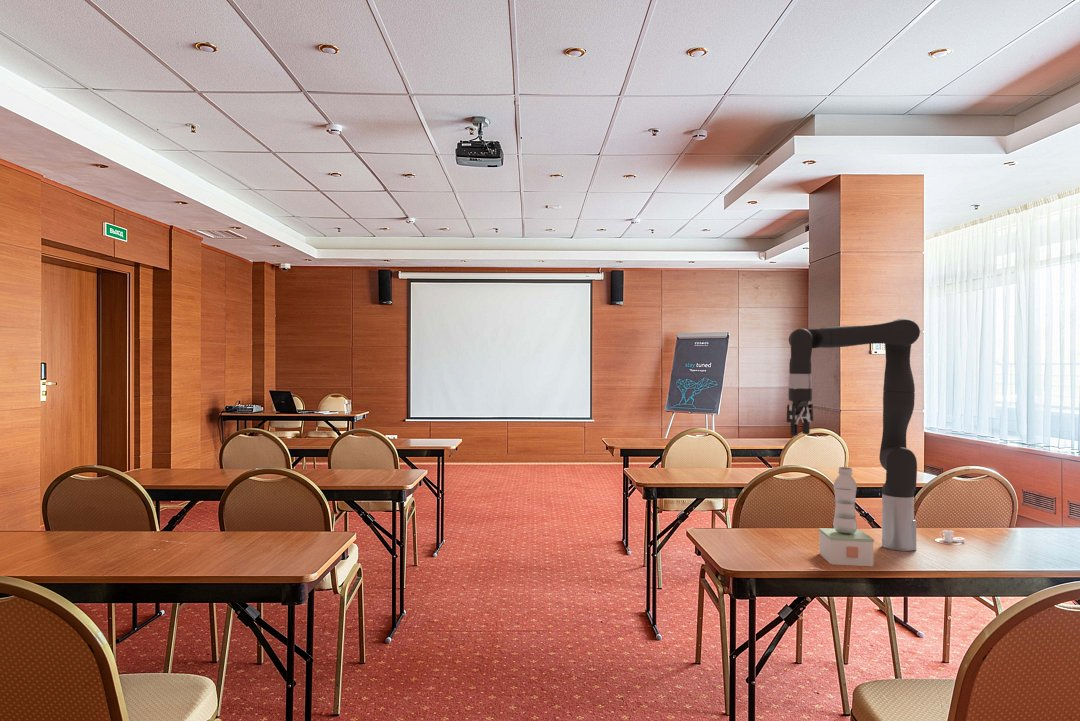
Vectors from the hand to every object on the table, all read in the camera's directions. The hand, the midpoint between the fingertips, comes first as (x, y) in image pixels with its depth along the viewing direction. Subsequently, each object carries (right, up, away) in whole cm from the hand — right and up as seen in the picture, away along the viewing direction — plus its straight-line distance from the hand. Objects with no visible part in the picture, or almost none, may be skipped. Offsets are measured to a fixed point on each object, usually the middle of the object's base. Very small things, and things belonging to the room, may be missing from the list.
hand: (800, 434), depth 228 cm
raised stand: (+5, -36, -23) cm, 43 cm away
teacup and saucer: (+52, -37, -3) cm, 64 cm away
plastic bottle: (+5, -28, -23) cm, 37 cm away
